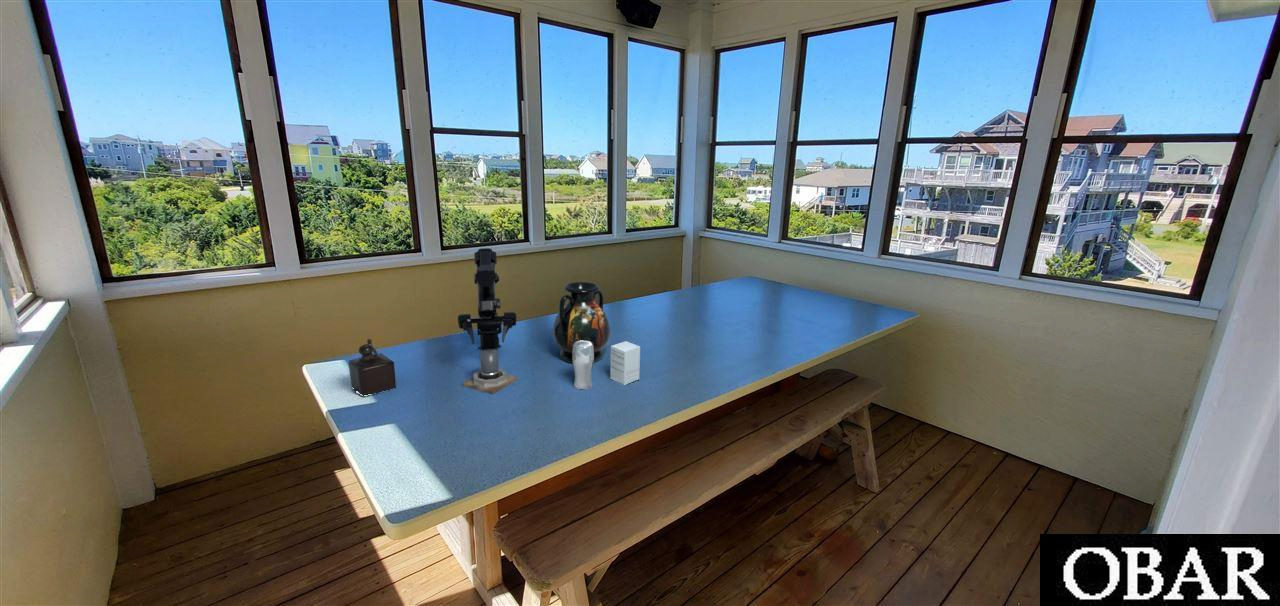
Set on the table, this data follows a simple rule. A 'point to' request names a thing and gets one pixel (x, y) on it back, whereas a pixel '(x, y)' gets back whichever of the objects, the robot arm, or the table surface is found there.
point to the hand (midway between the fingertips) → (488, 342)
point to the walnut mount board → (490, 389)
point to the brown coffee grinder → (371, 371)
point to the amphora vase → (581, 320)
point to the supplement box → (625, 362)
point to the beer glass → (583, 363)
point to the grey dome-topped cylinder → (489, 364)
